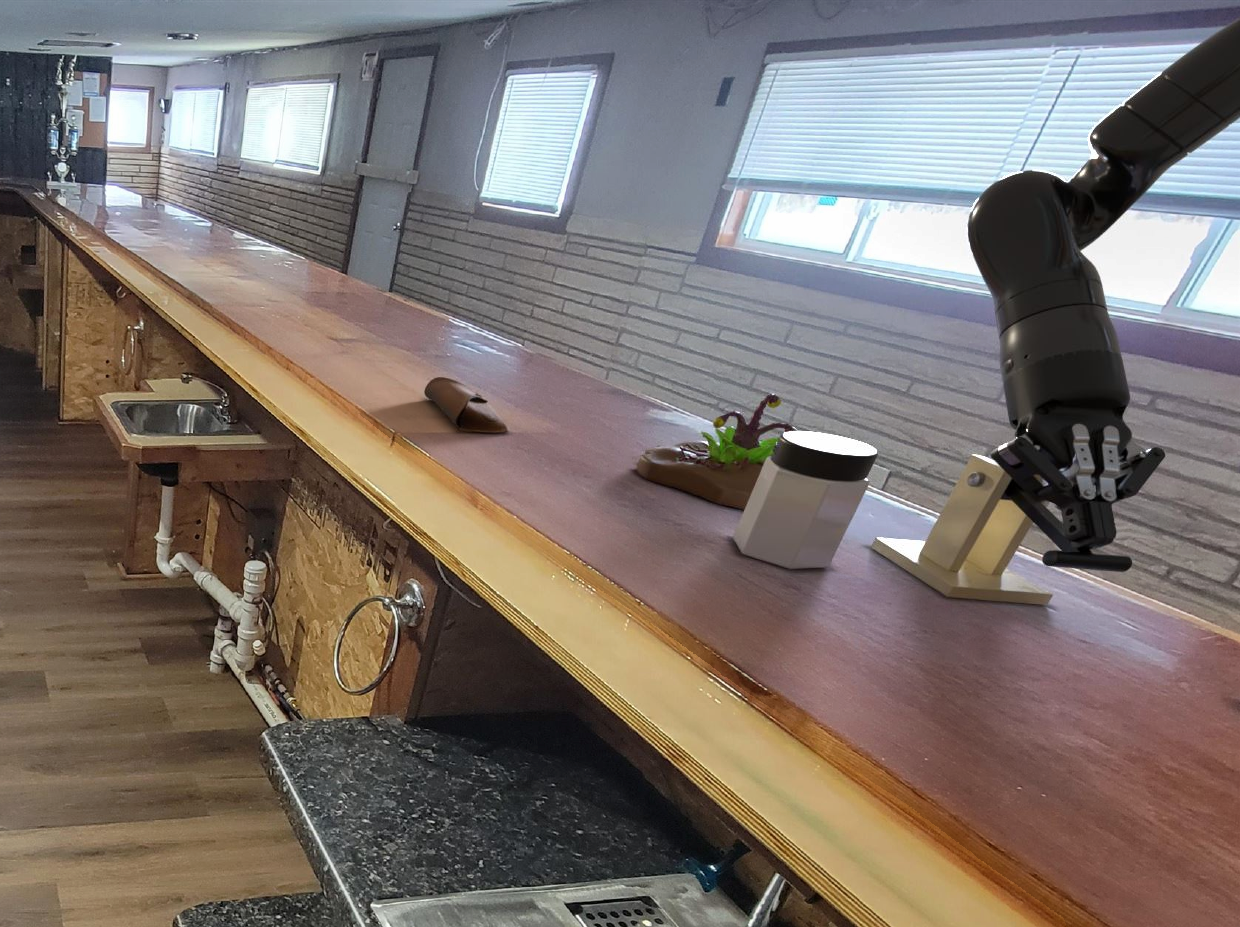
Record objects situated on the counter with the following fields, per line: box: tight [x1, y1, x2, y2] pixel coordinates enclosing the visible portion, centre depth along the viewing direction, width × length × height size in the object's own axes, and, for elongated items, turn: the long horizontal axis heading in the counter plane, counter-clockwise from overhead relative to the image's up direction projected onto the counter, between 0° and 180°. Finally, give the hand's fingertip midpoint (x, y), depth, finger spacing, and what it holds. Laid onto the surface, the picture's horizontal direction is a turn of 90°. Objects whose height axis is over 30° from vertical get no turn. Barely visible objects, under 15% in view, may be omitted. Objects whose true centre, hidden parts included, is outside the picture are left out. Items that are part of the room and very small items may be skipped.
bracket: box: [870, 454, 1054, 606], centre depth 88 cm, size 12×9×12 cm
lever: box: [1000, 479, 1133, 573], centre depth 82 cm, size 14×6×2 cm, turn 174°
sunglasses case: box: [423, 376, 509, 434], centre depth 136 cm, size 18×7×7 cm
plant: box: [636, 393, 798, 511], centre depth 111 cm, size 20×20×11 cm
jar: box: [732, 430, 879, 570], centre depth 91 cm, size 9×8×12 cm
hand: (1093, 545), depth 77 cm, fingers closed
